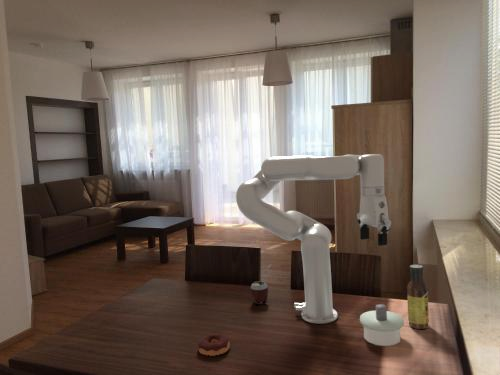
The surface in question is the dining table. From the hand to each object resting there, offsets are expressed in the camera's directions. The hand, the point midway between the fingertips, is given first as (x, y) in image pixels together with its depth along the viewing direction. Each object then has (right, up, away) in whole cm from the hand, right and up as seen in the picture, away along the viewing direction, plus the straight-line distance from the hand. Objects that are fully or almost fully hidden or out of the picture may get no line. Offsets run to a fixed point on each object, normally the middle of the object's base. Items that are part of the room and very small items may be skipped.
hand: (373, 242), depth 138 cm
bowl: (0, -28, -10) cm, 30 cm away
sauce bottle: (+14, -27, -4) cm, 30 cm away
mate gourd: (-37, -28, +25) cm, 52 cm away
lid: (-1, -23, -10) cm, 26 cm away
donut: (-52, -32, -10) cm, 63 cm away
